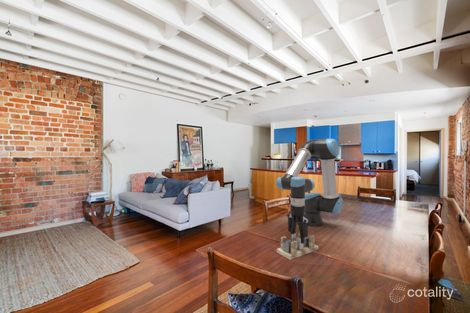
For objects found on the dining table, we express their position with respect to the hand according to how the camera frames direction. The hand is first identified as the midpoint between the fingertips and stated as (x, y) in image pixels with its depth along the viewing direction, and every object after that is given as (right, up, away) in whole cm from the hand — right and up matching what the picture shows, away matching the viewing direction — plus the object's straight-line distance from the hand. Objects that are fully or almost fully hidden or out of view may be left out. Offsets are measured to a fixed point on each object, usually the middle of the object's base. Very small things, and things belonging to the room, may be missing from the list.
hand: (297, 246), depth 124 cm
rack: (0, -2, 0) cm, 2 cm away
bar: (0, 0, 0) cm, 0 cm away
